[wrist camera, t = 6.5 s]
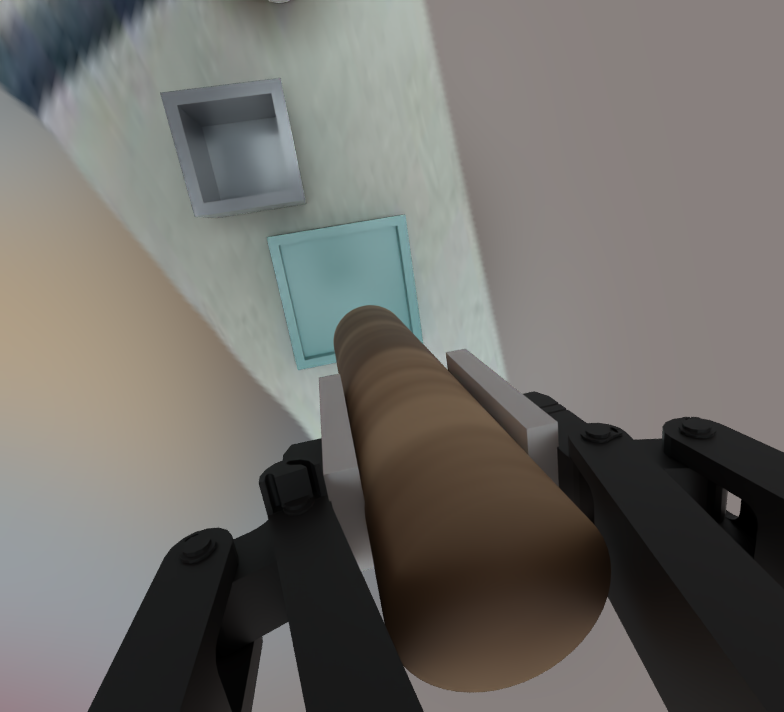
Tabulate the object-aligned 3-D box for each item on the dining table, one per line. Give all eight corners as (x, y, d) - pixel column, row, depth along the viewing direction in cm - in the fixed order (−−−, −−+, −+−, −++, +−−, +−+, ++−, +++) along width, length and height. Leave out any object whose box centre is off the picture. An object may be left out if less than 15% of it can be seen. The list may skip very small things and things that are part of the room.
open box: (191, 119, 36) (160, 92, 28) (286, 107, 37) (280, 77, 29) (217, 217, 38) (194, 217, 31) (306, 203, 39) (305, 199, 32)
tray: (268, 236, 39) (266, 237, 38) (401, 214, 41) (405, 214, 39) (298, 364, 43) (297, 370, 41) (419, 340, 45) (423, 344, 43)
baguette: (326, 312, 24) (365, 530, 7) (400, 299, 24) (610, 471, 7) (340, 382, 25) (403, 718, 8) (410, 368, 25) (611, 657, 8)
